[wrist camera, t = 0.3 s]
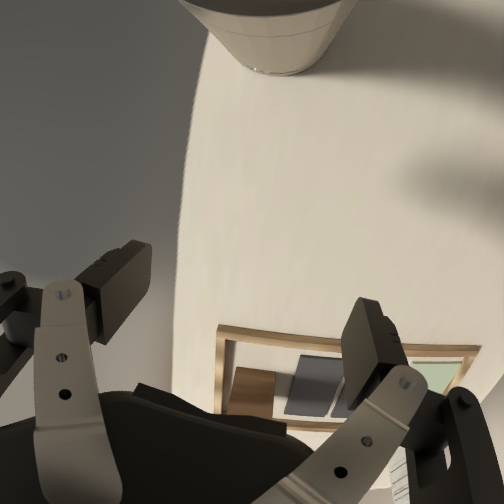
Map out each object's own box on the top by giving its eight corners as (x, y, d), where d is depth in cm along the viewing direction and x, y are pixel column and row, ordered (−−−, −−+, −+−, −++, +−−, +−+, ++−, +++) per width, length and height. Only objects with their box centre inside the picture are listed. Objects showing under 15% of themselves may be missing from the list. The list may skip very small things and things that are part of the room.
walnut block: (236, 366, 38) (220, 445, 27) (275, 371, 38) (269, 451, 27) (233, 390, 40) (219, 464, 29) (270, 395, 40) (263, 470, 29)
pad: (412, 361, 35) (413, 363, 35) (460, 361, 35) (461, 363, 35) (380, 416, 40) (381, 418, 40) (425, 414, 40) (426, 415, 40)
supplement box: (436, 435, 43) (451, 489, 31) (410, 455, 46) (420, 507, 35) (411, 431, 42) (425, 491, 31) (384, 452, 45) (393, 508, 34)
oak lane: (218, 324, 35) (216, 330, 34) (475, 345, 34) (479, 351, 32) (215, 413, 43) (213, 419, 42) (423, 424, 41) (425, 429, 40)
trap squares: (300, 354, 36) (300, 357, 36) (397, 361, 35) (398, 363, 35) (284, 412, 41) (283, 414, 41) (367, 416, 41) (368, 418, 40)
